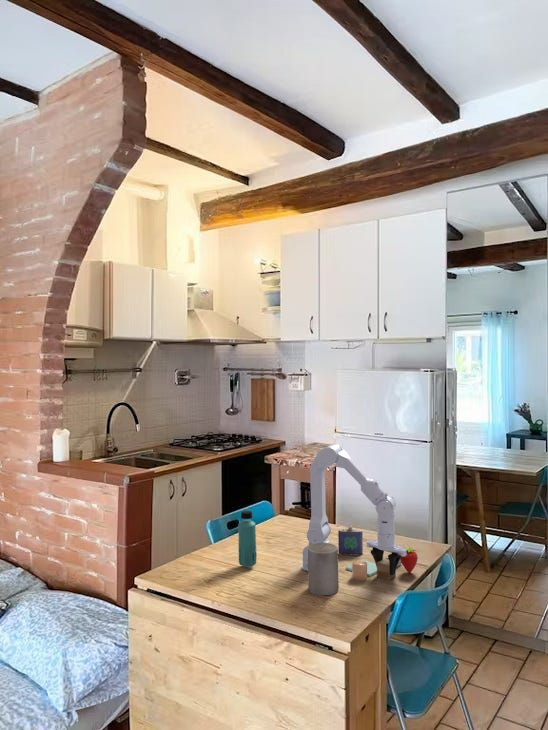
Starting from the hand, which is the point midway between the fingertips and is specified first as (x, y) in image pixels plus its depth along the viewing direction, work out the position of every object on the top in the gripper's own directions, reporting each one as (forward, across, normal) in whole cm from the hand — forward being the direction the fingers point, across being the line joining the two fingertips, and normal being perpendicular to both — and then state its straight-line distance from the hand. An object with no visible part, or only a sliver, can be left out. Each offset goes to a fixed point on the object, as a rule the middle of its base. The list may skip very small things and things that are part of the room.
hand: (386, 572), depth 191 cm
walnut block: (+1, 0, 0) cm, 1 cm away
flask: (+2, +22, -10) cm, 24 cm away
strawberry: (+2, -4, -8) cm, 9 cm away
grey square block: (+2, +4, -11) cm, 12 cm away
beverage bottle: (+2, +41, +26) cm, 49 cm away
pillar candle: (+2, +9, +23) cm, 25 cm away
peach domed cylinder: (+2, +6, +7) cm, 9 cm away
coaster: (+1, +9, -1) cm, 9 cm away
